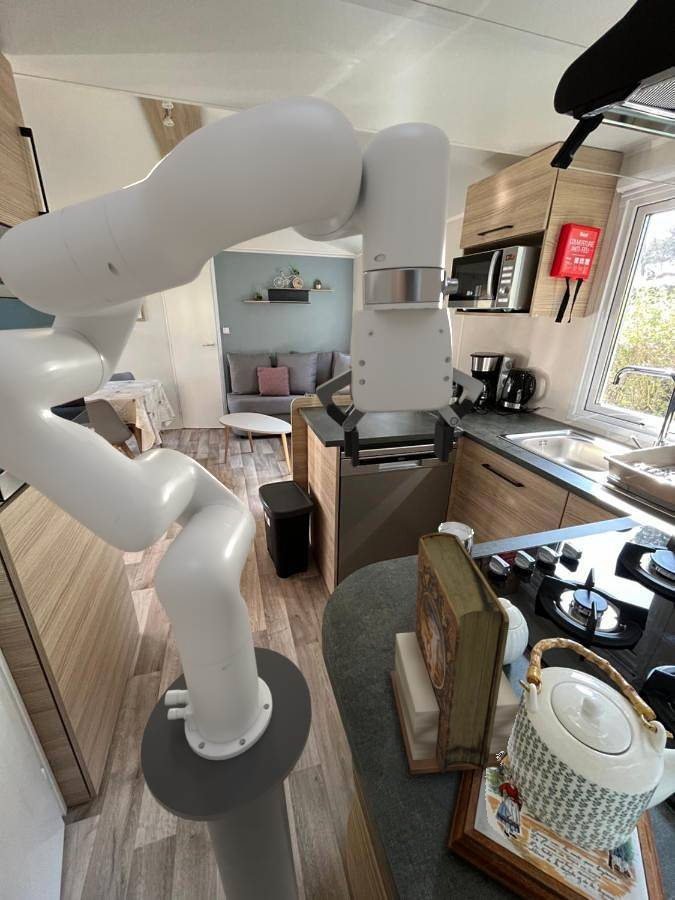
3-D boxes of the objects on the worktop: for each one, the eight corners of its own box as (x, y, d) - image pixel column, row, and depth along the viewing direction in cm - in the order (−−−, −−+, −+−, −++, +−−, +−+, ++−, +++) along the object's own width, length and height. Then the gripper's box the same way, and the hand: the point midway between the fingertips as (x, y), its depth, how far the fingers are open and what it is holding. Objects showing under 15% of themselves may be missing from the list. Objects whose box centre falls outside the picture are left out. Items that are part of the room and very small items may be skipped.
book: (410, 664, 62) (416, 533, 54) (443, 661, 63) (454, 531, 54) (442, 779, 47) (458, 622, 38) (485, 775, 47) (511, 618, 39)
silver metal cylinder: (474, 601, 77) (481, 537, 71) (442, 607, 75) (447, 542, 70) (457, 579, 83) (462, 519, 78) (427, 584, 82) (431, 523, 77)
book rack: (410, 774, 49) (413, 720, 45) (390, 676, 62) (391, 628, 58) (517, 765, 49) (528, 711, 46) (474, 669, 62) (480, 622, 59)
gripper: (475, 292, 40) (462, 445, 46) (311, 297, 39) (319, 452, 45) (509, 288, 33) (488, 469, 39) (310, 294, 32) (320, 478, 38)
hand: (397, 460), depth 42 cm, fingers open, 9 cm apart
